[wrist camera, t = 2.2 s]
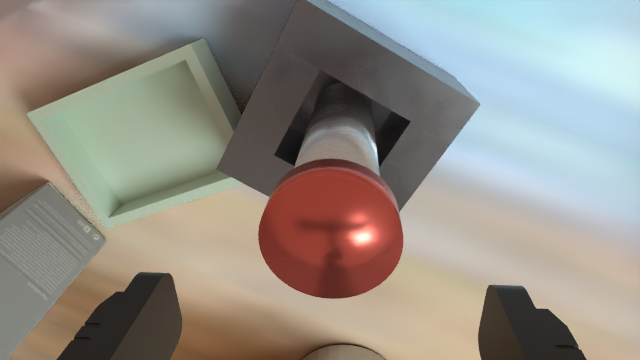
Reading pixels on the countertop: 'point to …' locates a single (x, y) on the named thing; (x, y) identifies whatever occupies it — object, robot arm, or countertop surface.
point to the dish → (145, 135)
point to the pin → (333, 205)
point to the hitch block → (362, 75)
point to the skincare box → (39, 259)
